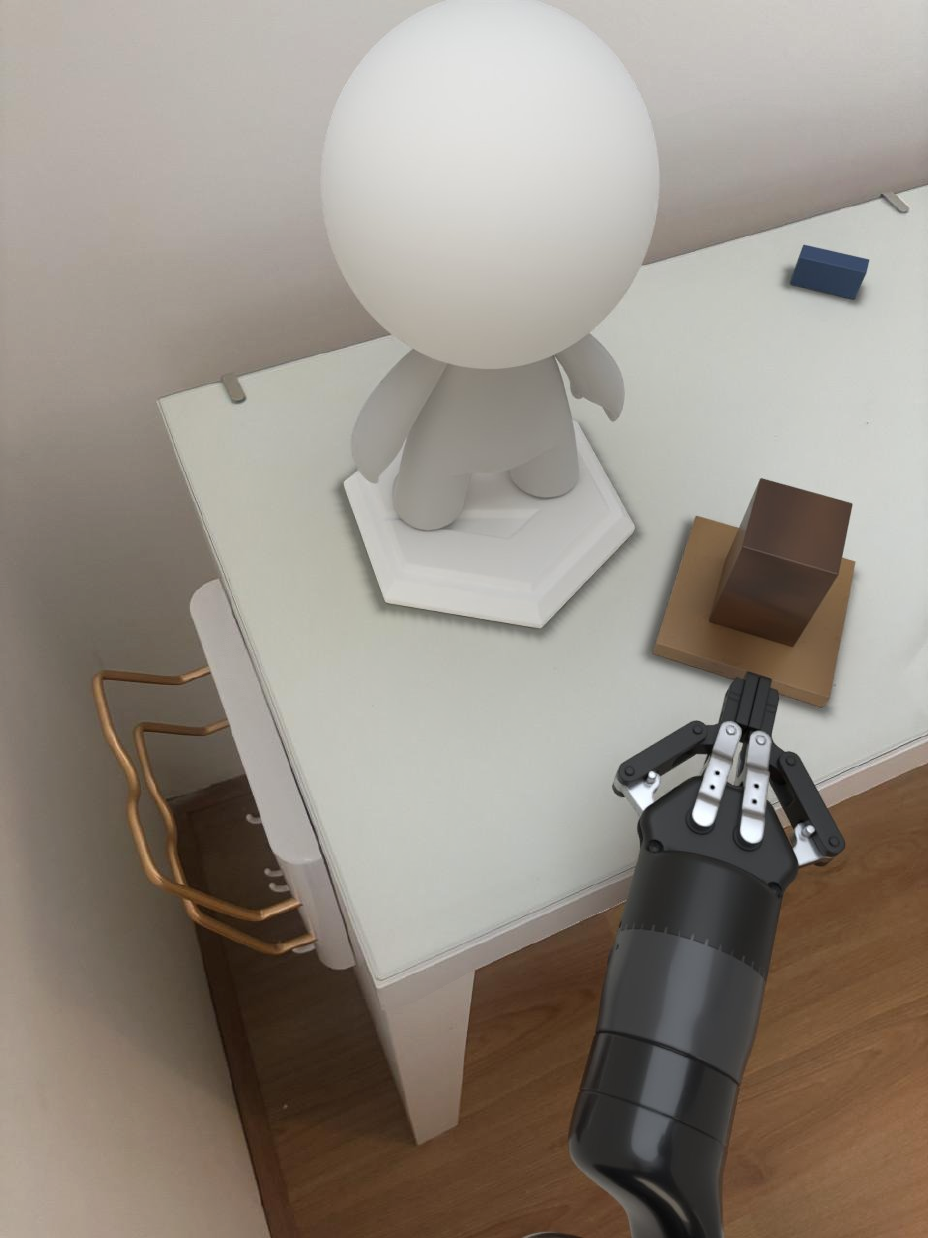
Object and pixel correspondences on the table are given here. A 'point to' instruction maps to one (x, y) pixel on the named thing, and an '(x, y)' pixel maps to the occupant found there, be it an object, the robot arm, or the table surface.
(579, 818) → the table surface
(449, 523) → the big headed doll
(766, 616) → the block
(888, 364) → the table surface
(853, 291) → the blue rectangular block
